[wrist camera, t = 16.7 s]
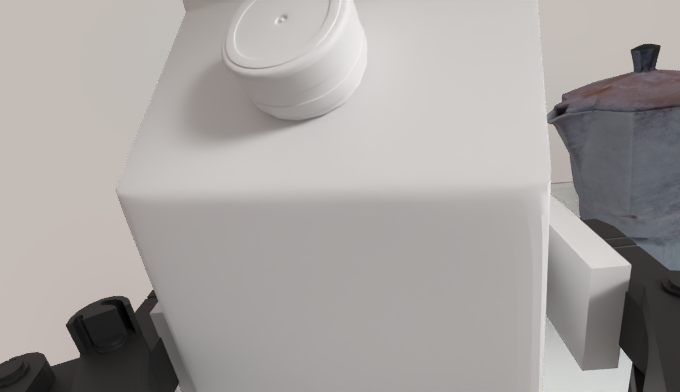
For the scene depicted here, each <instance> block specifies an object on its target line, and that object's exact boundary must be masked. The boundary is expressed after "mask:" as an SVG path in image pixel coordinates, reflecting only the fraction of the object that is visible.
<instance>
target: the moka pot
mask: <svg viewBox="0 0 680 392" xmlns="http://www.w3.org/2000/svg"><path fill="white" fill-rule="evenodd" d="M659 51H660V45H655V44H643V45H641V46H638V47H636V48H634V49H632V50H631V54H632V59H633V64H634V72H631V73H627V74H623V75H619V76H616V77H612V78H608V79H604V80H600V81H597V82H593V83H591V84H588V85H586V86H583V87H580V88H578V89H575V90H573V91H570V92H568V93H565V94H563V95H562V102H561V103H559V104H557V105H556V106H555V107H554V109H553V110H552V111H551V112H550V113H548V115H547V123H549V124H553V125H554V126H555V127H556V129H557V131H558V133H559V135H560V137H561V138H562V140H563V142H564V144H565V146H566V148H567V150H568V152H569V154H570V162H571V169H572V176H573V183H574V187H575V190H576V192H577V194H578V196H579V210H580V216H581V217H580V220H588V219H598V220H600V221H603V222H605V223H608V224H610V225H613V226H615V227H616V228H617V229H618V230H620V231H621V232H622V233H623V234H625V235H626V237H627V238H630V239H631V240H632V241H634V242H635V243H636V244H637V246H640V247H641V248H642V249H644V250H645V251H646V252H647V253H649V254H650V255H651V256H652V257H654V258H655V259H656V260H657V261H659V262H660V263H661V264H663V265H664V266H665V267H666V268H668V269H669V270H678V271H680V71H676V70H675V71H674V70H657V69H656V68H655V66H656V62H657V58H658V54H659Z"/></svg>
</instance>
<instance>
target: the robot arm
mask: <svg viewBox="0 0 680 392" xmlns="http://www.w3.org/2000/svg"><path fill="white" fill-rule="evenodd" d="M546 315H547V316H548V318H549V319H550V321H551V323H552V324H553V326H554V327H555V329H556V330H557V332H558V333H559V335H560V337H561V338H562V340H563V341H564V343H565V344H566V346H567V348H568V349H569V351H570V352H571V354H572V355H573V357H574V358H575V360H576V362H577V363H578V365H579V366H580V368H581V369H582V371H584V370H597V369H610V368H618V361H619V354H620V347H621V348H622V350H623V351H624V352H625V353H626V354H627V356H628V357H629V358H630V359H631V361H632V369H631V376H630V382H629V389H628V392H680V271H678V270H669V269H668V268H666V267H665V266H664V265H663V264H661V263H660V262H659V261H657V260H656V259H655V258H654V257H652V256H651V255H650V254H649V253H647V252H646V251H645V250H644V249H642V248H641V247H640V246H637V244H636V243H635V242H634V241H632V240H631V239H630V238H627V237H626V235H625V234H623V233H622V232H621V231H620V230H618V229H617V228H616V227H615V226H613V225H610V224H608V223H605V222H603V221H600V220H598V219H588V220H580V219H579V218H578V217H577V216H576V215H575V214H573V213H572V212H571V211H570V210H569V209H568V208H567V207H566V206H564V205H563V204H562V203H561V202H560V201H559V200H558V199H556V198H555V197H554V196H553V195H552V194H551V193H550V217H549V243H548V270H547V296H546ZM66 327H67V329H68V331H69V333H70V334H71V337H72V339H73V341H74V342H75V344H76V346H77V348H78V350H79V352H80V358H77V359H74V360H71V361H67V362H64V363H61V364H57V365H54V366H50V365H49V363H48V361H47V359H46V357H45V356H44V354H41V353H38V352H35V353H27V354H24V355H21V356H17V357H14V358H11V359H9V361H5V362H3V363H1V364H0V392H175V390H176V388H177V386H178V384H179V387H180V389H181V392H194V389H193V387H192V384H191V382H190V379H189V377H188V374H187V372H186V369H185V367H184V364H183V362H182V359H181V356H180V354H179V351H178V349H177V346H176V344H175V341H174V339H173V336H172V334H171V331H170V329H169V326H168V324H167V321H166V319H165V316H164V314H163V311H162V309H161V306H160V304H159V301H158V299H157V296H156V294H155V291H154V290H152V292H151V293H150V294H149V296H148V299H145V301H144V302H143V303H142V304H141V306H140V307H139V308H138V309H137V311H136V312H135V313H134V311H133V308H132V306H131V304H130V301H129V299H128V298H126V297H123V296H113V297H109V298H104V299H101V300H99V301H96V302H94V303H92V304H89V305H88V306H86V307H84V308H83V309H81V310H79V311H78V312H77V313H76V314H75V315H74V316H72V317H71V318H70V320H69V321H68V323H67V324H66Z"/></svg>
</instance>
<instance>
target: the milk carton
mask: <svg viewBox="0 0 680 392" xmlns="http://www.w3.org/2000/svg"><path fill="white" fill-rule="evenodd" d="M183 3H184V7H185V10H186V13H185V17H184V19H183V21H182V24H181V26H180V29H179V31H178V33H177V36H176V39H175V41H174V43H173V46H172V49H171V51H170V53H169V56H168V58H167V61H166V63H165V66H164V68H163V71H162V73H161V76H160V78H159V80H158V83H157V85H156V88H155V90H154V93H153V96H152V98H151V100H150V103H149V105H148V108H147V110H146V113H145V115H144V118H143V120H142V122H141V125H140V128H139V130H138V133H137V135H136V137H135V140H134V142H133V145H132V147H131V150H130V152H129V155H128V157H127V160H126V162H125V165H124V167H123V170H122V172H121V175H120V178H119V180H118V183H117V186H116V192H117V195H118V198H119V201H120V204H121V207H122V210H123V212H124V215H125V218H126V220H127V223H128V225H129V228H130V231H131V233H132V236H133V238H134V241H135V243H136V246H137V248H138V251H139V254H140V256H141V259H142V261H143V264H144V266H145V269H146V271H147V273H148V276H149V279H150V281H151V284H152V286H153V289H154V291H155V294H156V296H157V299H158V301H159V304H160V306H161V309H162V311H163V314H164V316H165V319H166V321H167V324H168V326H169V329H170V331H171V334H172V336H173V339H174V341H175V344H176V346H177V349H178V351H179V354H180V356H181V359H182V362H183V364H184V367H185V369H186V372H187V374H188V377H189V379H190V382H191V384H192V387H193V389H194V392H543V376H544V349H545V323H546V296H547V270H548V243H549V217H550V190H551V163H550V149H549V136H548V125H547V111H546V99H545V86H544V75H543V62H542V50H541V37H540V25H539V12H538V0H183Z"/></svg>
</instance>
